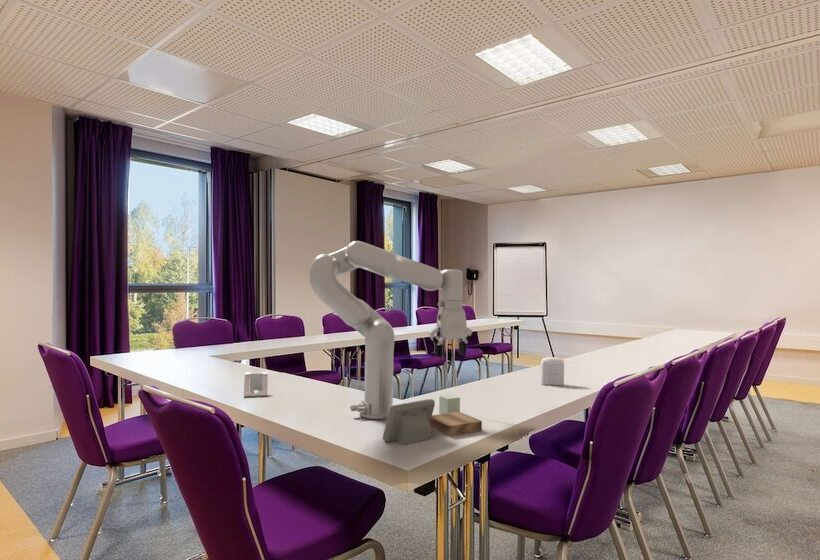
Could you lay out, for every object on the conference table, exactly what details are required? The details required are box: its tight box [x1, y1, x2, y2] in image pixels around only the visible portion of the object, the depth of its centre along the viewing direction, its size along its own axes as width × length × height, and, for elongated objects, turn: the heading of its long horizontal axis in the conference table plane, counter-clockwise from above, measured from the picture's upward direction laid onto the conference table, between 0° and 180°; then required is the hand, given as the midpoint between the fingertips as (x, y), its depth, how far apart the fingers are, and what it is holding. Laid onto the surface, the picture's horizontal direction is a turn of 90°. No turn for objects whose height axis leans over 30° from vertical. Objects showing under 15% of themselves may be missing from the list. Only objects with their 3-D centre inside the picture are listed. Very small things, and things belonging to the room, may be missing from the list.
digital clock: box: [382, 398, 436, 446], centre depth 136 cm, size 16×9×11 cm, turn 118°
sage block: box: [438, 394, 461, 414], centre depth 162 cm, size 5×5×6 cm
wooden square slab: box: [430, 411, 483, 437], centre depth 146 cm, size 12×12×3 cm
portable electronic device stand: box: [243, 371, 269, 398], centre depth 186 cm, size 9×8×8 cm
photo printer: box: [540, 356, 565, 387], centre depth 215 cm, size 10×4×12 cm, turn 87°
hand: (450, 355), depth 162 cm, fingers open, 9 cm apart
